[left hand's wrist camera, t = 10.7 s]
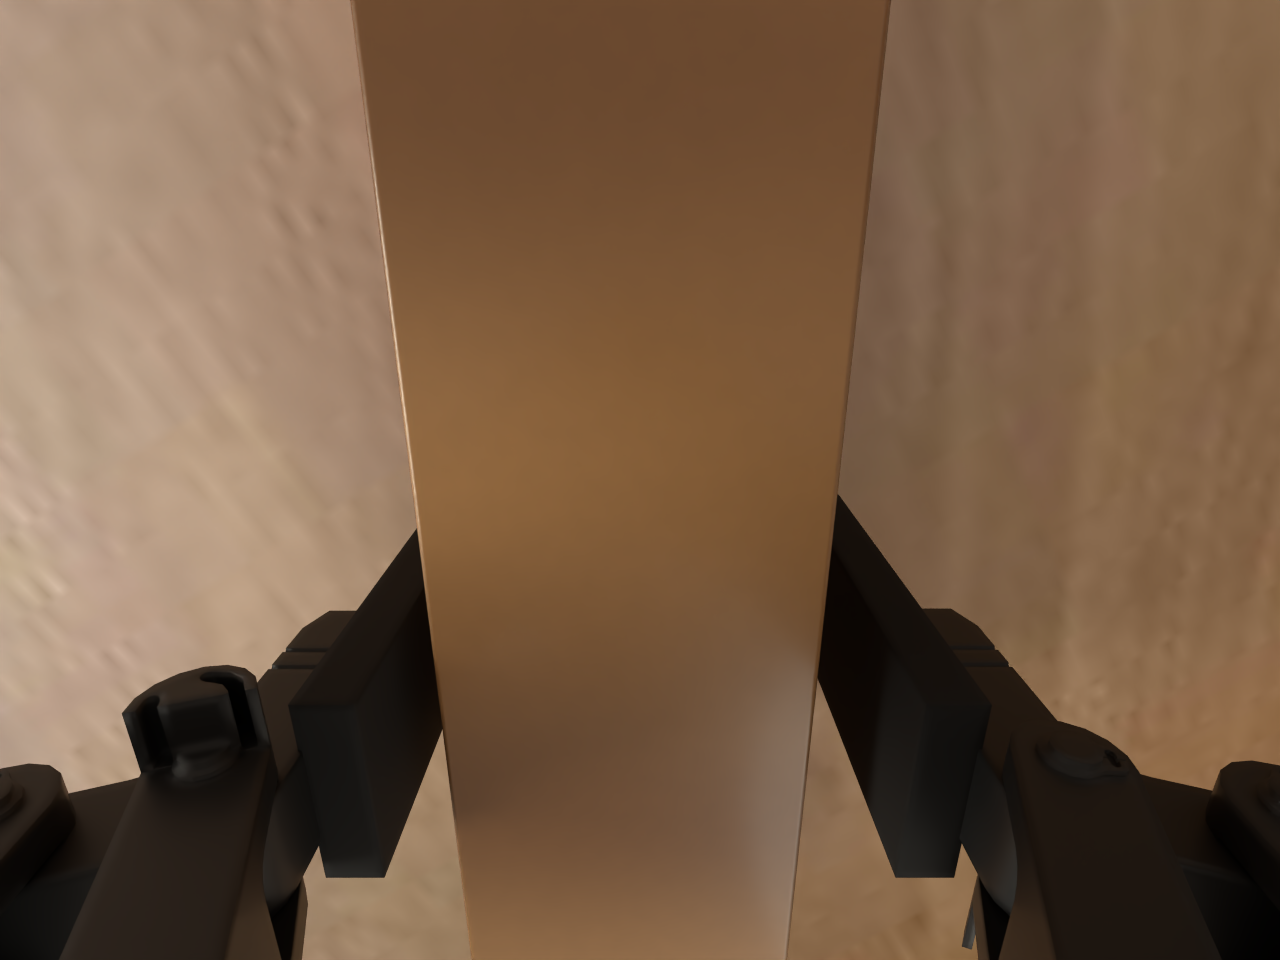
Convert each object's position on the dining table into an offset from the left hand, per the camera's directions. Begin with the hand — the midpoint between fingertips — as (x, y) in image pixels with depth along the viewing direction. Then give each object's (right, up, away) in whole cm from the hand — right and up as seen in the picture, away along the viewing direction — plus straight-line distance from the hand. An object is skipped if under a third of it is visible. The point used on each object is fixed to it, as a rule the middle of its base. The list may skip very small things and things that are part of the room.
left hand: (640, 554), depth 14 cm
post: (0, +25, -7) cm, 26 cm away
